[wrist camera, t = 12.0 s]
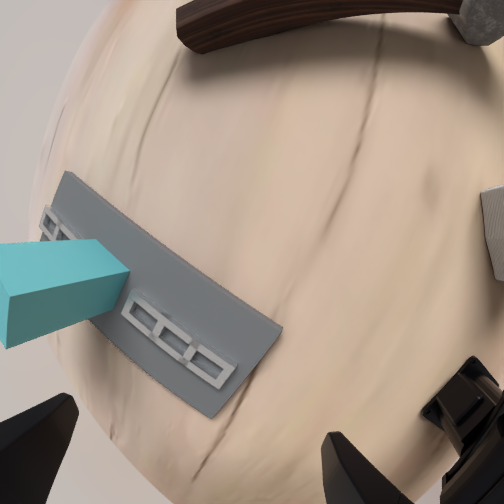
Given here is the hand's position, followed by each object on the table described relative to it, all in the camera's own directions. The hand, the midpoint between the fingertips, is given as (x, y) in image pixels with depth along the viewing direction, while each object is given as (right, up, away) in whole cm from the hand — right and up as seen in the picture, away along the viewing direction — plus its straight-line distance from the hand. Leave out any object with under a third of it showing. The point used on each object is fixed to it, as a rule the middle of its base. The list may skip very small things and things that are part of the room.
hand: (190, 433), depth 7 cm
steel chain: (-9, +3, +13) cm, 16 cm away
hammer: (+11, +26, +9) cm, 30 cm away
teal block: (-10, +4, +13) cm, 17 cm away
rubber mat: (-8, +3, +14) cm, 16 cm away
